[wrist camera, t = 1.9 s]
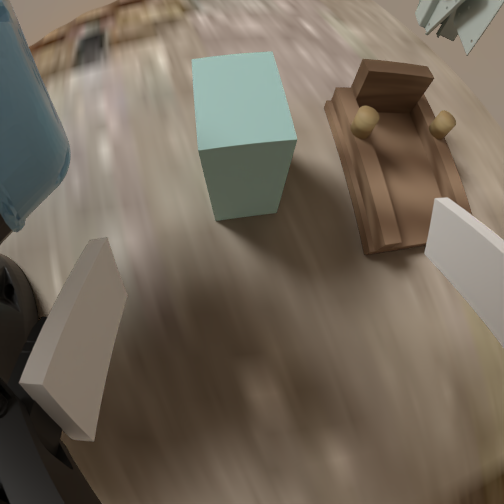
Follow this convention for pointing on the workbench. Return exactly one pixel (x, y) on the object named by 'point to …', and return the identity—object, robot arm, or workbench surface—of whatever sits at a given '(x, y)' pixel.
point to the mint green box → (242, 132)
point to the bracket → (458, 18)
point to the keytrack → (393, 153)
